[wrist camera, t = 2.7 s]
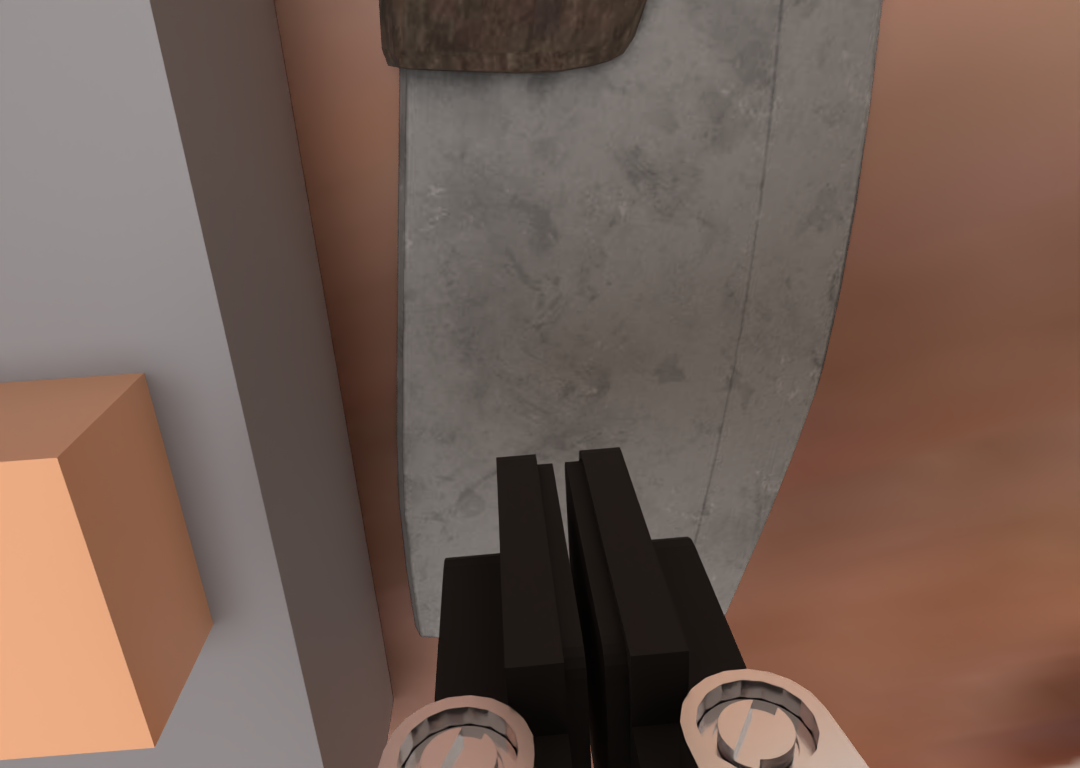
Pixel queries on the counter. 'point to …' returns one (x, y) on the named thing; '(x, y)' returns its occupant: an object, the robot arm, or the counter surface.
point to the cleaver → (617, 253)
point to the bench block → (199, 350)
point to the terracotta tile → (91, 570)
